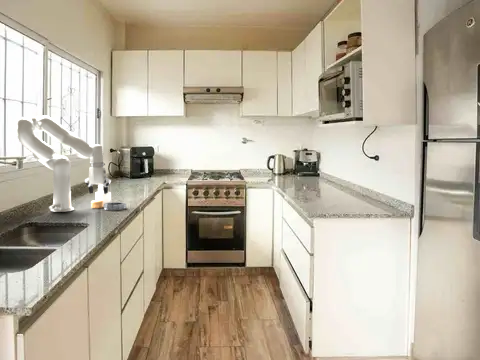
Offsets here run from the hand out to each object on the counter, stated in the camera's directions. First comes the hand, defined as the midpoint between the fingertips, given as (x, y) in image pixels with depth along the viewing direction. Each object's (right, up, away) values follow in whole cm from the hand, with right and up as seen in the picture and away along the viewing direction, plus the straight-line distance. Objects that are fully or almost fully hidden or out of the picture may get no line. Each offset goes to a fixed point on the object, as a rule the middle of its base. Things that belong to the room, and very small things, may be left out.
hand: (98, 193), depth 287 cm
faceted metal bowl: (+11, -9, -5) cm, 15 cm away
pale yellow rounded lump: (-1, -9, 0) cm, 9 cm away
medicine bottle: (-2, -7, +17) cm, 18 cm away
